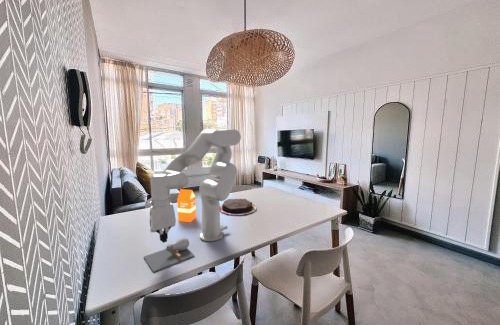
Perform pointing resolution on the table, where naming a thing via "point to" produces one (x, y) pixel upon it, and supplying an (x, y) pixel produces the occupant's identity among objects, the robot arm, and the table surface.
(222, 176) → the robot arm
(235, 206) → the chocolate cake
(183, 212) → the orange juice
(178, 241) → the lightbulb
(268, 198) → the table surface
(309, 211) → the table surface
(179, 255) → the rail
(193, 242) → the table surface
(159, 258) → the mat
